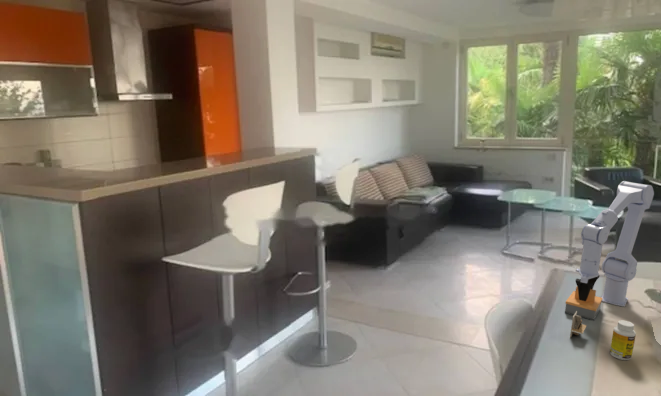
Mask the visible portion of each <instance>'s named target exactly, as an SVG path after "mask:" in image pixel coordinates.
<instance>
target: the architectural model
mask: <svg viewBox="0 0 661 396" xmlns="http://www.w3.org/2000/svg"><path fill="white" fill-rule="evenodd" d="M570 327H571V329H570V335H569V339H572V336H573V335H575V336H579V334H580V335H584V333H585V331H586V328H587V324H583V319H582V317H581V316H578V315H577V311H576V313H575V314H574V315H572V321H571V326H570Z"/></svg>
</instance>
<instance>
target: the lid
mask: <svg viewBox="0 0 661 396" xmlns="http://www.w3.org/2000/svg"><path fill="white" fill-rule="evenodd" d="M596 293H597V290H596V289H594V288H593V289H591V290H590V292H589V295H588V298H587V300H586V301H582V300H579V294H578V287H577V286H575V290H573V291H572V292H571V294H570V295H569V296H568V298H567V299H566V300H565V305H566V304H569V305H573V306H577V307H581V308H585V309H589V310H593V311H596V310H597V309H598V307H599V305H600V303H601V304H602V303H603V301H602V299H603V298H601V297H602V296H601V297H600V296H598V295H597V296H596Z"/></svg>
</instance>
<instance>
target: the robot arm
mask: <svg viewBox="0 0 661 396" xmlns="http://www.w3.org/2000/svg"><path fill="white" fill-rule="evenodd" d="M654 196H655V191H654V188H653V186H652V185H651V184H643V183H637V182H633V181H632V182H631V181H628V180H627V181H626V180H623V181H621V182H620V183H619V184H618V186H617V190H616V197H615V198H614V200H613V201H612V203H611V204H610V205H609V206H608V208H607V209H603V210H601V212H599V214H597V216H596V217H595V218H594V220H592V222H591V223H588V224H585V225H584V226H583V228H582V231H581V233H580V237H581V244H582V252H581V258H580V265H579V268H576V269H575V272H576V273H578V274H579V276H580V278H575V285H576V287H578V294H579V300H582V301H586V300H587V298H588V295H589V292H590V290H591V289H593V290H594V287H595V284H596V283H597V281H598V280H599V278H600V274H599V271H600V270H599V269H600V265H601V270H602V273H604V274H603V275H604V277H605V281H604V286H603V287H604V288H603V294H602V295H601V298H603V299H602V303H603V302H604V303H607V304H610V305H616V306H619V307H623V306H624V307H625V306H626V304H627V302H628V299H629V298H628V297H627V292H628V287H629V282H630V281H632V280H633V279H634V278H635V276H636V274H637V266H638V261H637V259H636V258H635V257H634V256H633V254H632V252H633V250H634V249H633V248H634V245H635V243H636V239H637V237H638V232H639V230H640V226H641V224H642V220H643V217H644V214H645V211H646V210H649V209H650V208H651V205H652V202H653V199H654ZM626 208H627V212H626V215H625V218H624V222H623V225H622V228H621V231H620V235H619V237H618V241H617V245H616V248H615V249H614V250H613V251H611V252H608V253H607V254H606V256H605V258H604V260H603V261H602V264H601V258H602V251H603V246H604V245H603V244H605V242H607V241H608V238H609V236H610V231H611V229H612V228H613V227H614V226H615V224H616V223H617V222H618V220H619V218H618V215H619V214H621V212H623V211H624V210H625V209H626Z"/></svg>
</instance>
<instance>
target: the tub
mask: <svg viewBox="0 0 661 396" xmlns="http://www.w3.org/2000/svg"><path fill="white" fill-rule="evenodd" d="M601 307H602V302H601V303H600V305H599V307H598V309H597V310H596V311H593V310H589V309H585V308H581V307H577V306H573V305H569V304H566V303H565V310H564V314H567V315H571V316H574V314H575V313H576V311H577V315H578V316H581V319H585V320H589V321H593V322H594V321H595V319H596V317H597V316H598V314H599V312H600V310H601Z"/></svg>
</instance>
